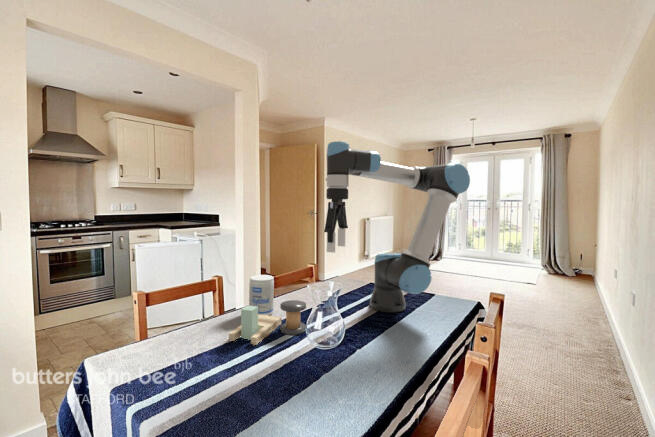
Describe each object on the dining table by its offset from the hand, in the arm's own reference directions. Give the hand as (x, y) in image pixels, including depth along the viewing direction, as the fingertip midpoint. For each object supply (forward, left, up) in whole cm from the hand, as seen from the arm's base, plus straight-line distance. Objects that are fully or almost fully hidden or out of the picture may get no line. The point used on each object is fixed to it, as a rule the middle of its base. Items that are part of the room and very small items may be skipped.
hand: (336, 249), depth 110 cm
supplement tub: (-5, -32, -29) cm, 43 cm away
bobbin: (+5, -14, -29) cm, 32 cm away
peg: (+16, -25, -29) cm, 41 cm away
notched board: (+11, -25, -29) cm, 40 cm away
